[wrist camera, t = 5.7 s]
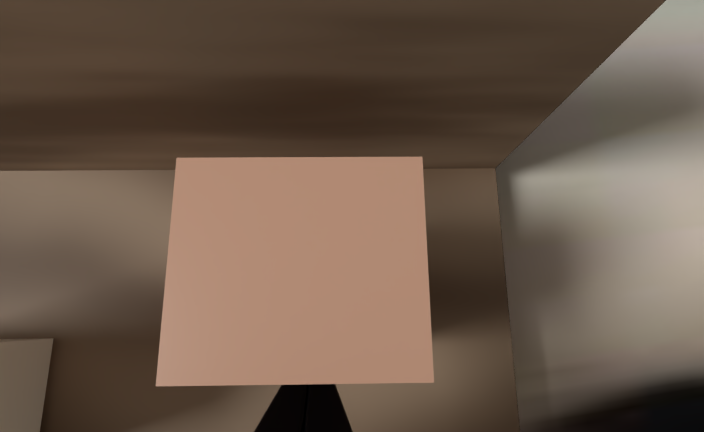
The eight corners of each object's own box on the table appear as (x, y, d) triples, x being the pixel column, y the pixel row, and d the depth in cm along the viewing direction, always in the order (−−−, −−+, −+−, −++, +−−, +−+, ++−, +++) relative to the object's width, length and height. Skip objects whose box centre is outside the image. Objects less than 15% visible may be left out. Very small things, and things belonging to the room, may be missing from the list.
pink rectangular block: (386, 346, 15) (433, 383, 7) (258, 348, 15) (155, 386, 7) (383, 237, 16) (422, 156, 8) (263, 238, 16) (176, 157, 8)
